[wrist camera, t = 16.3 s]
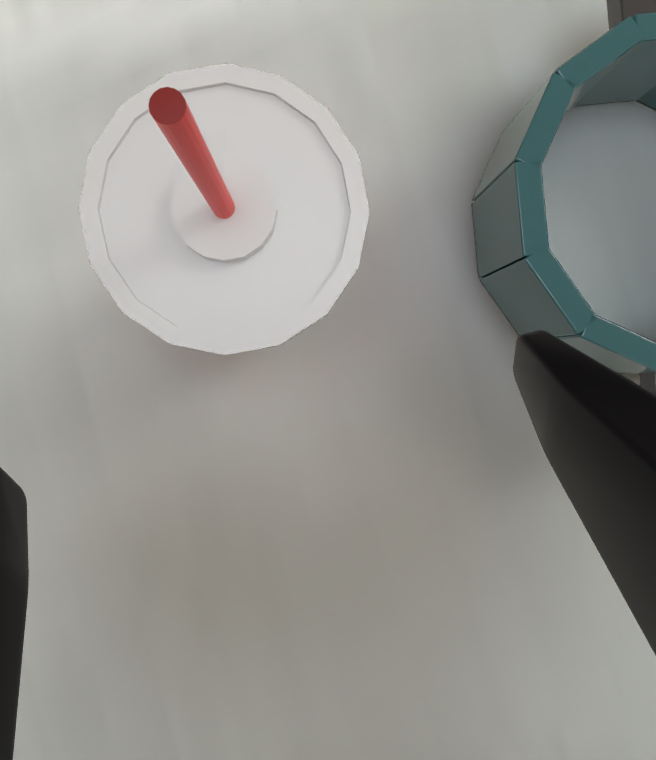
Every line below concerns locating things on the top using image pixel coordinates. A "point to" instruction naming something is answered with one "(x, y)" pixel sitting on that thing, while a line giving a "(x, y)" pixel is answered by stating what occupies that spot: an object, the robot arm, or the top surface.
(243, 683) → the top surface
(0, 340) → the top surface
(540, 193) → the pot
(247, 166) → the beverage cup
